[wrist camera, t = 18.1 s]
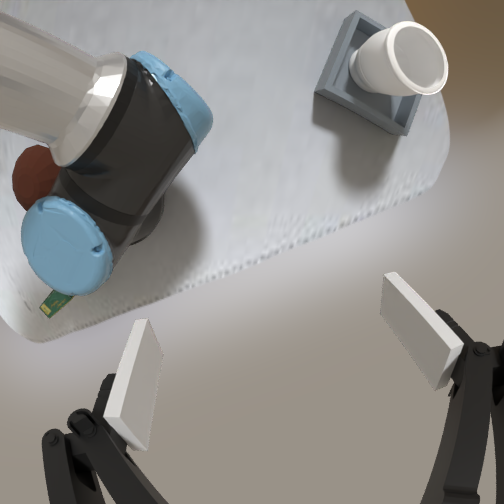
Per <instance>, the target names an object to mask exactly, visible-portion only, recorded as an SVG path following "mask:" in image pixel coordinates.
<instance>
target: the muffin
mask: <svg viewBox="0 0 504 504" xmlns="http://www.w3.org/2000/svg"><path fill="white" fill-rule="evenodd" d="M61 168H62V167H60V166H58V165H57V164H55V162H54V160H53V157H52V155H51V152H50V149H49V148H47V147H43V146H40V145H35V146H32V147H29V148H26V149H25V150H24V152H23V153H22V154H21V155H20V156H19V157H18V159H17V161H16V164H15V167H14V171H13V174H12V183H13V191H14V193H15V196H16V199H17V201H18V202H19V203H20V204H21V206H22V207H23V208H24V209H25V210H26V211H28V210H29V209H30V208H31V207H32V206H33V204H35V202H36V201H37V200H38V199H41V198H42V197H46V196H47V195H48V194H49V192H50V190H51V188H52V186H53V184H54V182H55V179H56V177H57V175H58V173H59V171H60V169H61Z"/></svg>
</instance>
